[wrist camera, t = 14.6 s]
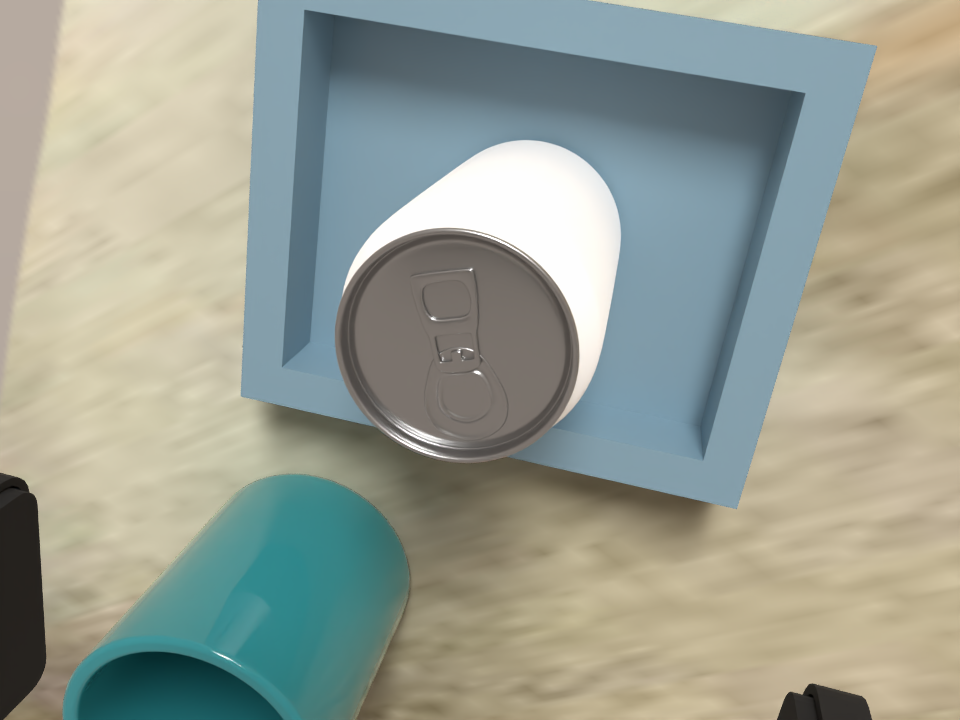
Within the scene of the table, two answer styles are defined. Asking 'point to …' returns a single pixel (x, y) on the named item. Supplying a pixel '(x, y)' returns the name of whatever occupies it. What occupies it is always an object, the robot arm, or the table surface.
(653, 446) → the tray
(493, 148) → the can
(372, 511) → the cup
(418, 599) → the table surface
